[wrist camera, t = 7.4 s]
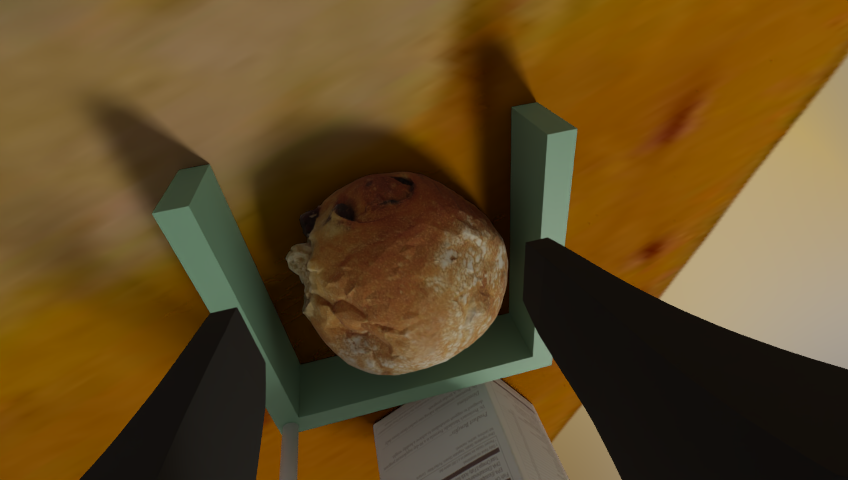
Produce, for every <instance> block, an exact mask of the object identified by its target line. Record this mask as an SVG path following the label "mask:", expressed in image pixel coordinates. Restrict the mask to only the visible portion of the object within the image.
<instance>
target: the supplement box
mask: <svg viewBox="0 0 848 480" xmlns="http://www.w3.org/2000/svg"><path fill="white" fill-rule="evenodd" d="M373 430H374V437H375V445H376V452H377V459H378V466H379V474H380V480H569V478H568V476H567V474H566V472H565V470H564V468H563V466H562V464H561V462H560V460H559V458H558V456H557V454H556V452H555V450H554V448H553V446H552V444H551V442H550V440H549V438H548V436H547V433H546V431H545V429H544V427H543V425H542V423H541V421H540V419H539V417H538V415H537V412H536V410H535V408H534V406H533V405H532V404H531V403H530V402H529V401H527V400H526V399H525V398H524V397H522V396H521V395H520V394H519V393H517V392H516V391H515V390H514V389H512V388H511V387H510V386H508V385H507V384H506V383H505V382H503V381H502V380H501V379H497V380H493V381H489V382H485V383H482V384H478V385H474V386H470V387H467V388H463V389H459V390H455V391H452V392H448V393H444V394H440V395H436V396H433V397H429V398H425V399H421V400H418V401H414V402H410V403H406V404H404V405H403V406H401V407H400V408H398V409H397V410H395V411H394V412H392V413H391V414H389V415H388V416H386V417H385V418H383V419H382V420H380V421H378V422H377V423H375V424H374V425H373Z"/></svg>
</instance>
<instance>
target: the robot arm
mask: <svg viewBox="0 0 848 480" xmlns="http://www.w3.org/2000/svg"><path fill="white" fill-rule="evenodd" d="M523 302H524V304H525V307H526V309H527V311H528V313H529V316H530V318H531V320H532V322H533V324H534V326H535V328H536V330H537V332H538V334H539V336H540V338H541V339H542V341H543V342H544V344H545V346H546V347H547V349H548V350H549V352H550V354H551V355H552V357H553V358H554V360H555V362H556V363H557V365H558V366H559V368H560V369H561V371H562V373H563V374H564V376H565V377H566V379H567V380H568V382H569V384H570V385H571V387H572V388H573V390H574V391H575V393H576V395H577V396H578V398H579V399H580V401H581V403H582V404H583V406H584V407H585V409H586V411H587V412H588V414H589V416H590V418H591V419H592V421H593V423H594V425H595V426H596V429H597V431H598V432H599V434H600V436H601V438H602V440H603V442H604V444H605V446H606V448H607V450H608V452H609V454H610V456H611V458H612V460H613V462H614V464H615V466H616V468H617V470H618V472H619V475H620V476H621V479H622V480H848V369H845V368H841V367H838V366H834V365H831V364H828V363H824V362H821V361H817V360H814V359H811V358H808V357H805V356H802V355H799V354H795V353H792V352H789V351H786V350H783V349H780V348H777V347H774V346H772V345H769V344H766V343H763V342H760V341H758V340H755V339H752V338H749V337H746V336H744V335H741V334H738V333H736V332H733V331H730V330H728V329H725V328H723V327H720V326H718V325H715V324H713V323H710V322H708V321H706V320H704V319H701V318H699V317H697V316H694V315H692V314H690V313H687V312H684V311H683V310H681V309H678V308H676V307H674V306H672V305H670V304H667V303H666V302H664V301H661V300H660V299H658V298H656V297H654V296H652V295H650V294H648V293H646V292H644V291H642V290H640V289H638V288H636V287H634V286H632V285H630V284H628V283H627V282H625V281H623V280H621V279H619V278H618V277H616V276H614V275H612V274H610V273H609V272H607V271H605V270H603V269H602V268H600V267H598V266H596V265H595V264H593V263H591V262H590V261H588V260H586V259H585V258H583V257H581V256H580V255H578V254H576V253H574V252H573V251H571V250H569V249H568V248H566V247H564V246H563V245H561V244H559V243H557V242H556V241H554V240H552V239H550V238H548V237H547V238H543V239H538V240H534V241H529V242H526V244H525V264H524V283H523ZM265 405H266V362H265V360H264V358H263V356H262V354H261V352H260V350H259V348H258V347H257V345H256V343H255V341H254V339H253V337H252V335H251V333H250V331H249V329H248V327H247V325H246V323H245V321H244V319H243V317H242V315H241V313H240V312H239V310H238V308H237V307H235V308H231V309H226V310H222V311H217V312H213V313H210V314H209V316H208V317H207V318H206V320H205V321H204V322H203V324H202V325H201V327H200V328H199V329H198V331H197V332H196V334H195V335H194V336H193V338H192V339H191V341H190V342H189V343H188V345H187V346H186V348H185V349H184V350H183V352H182V353H181V355H180V356H179V357H178V359H177V360H176V362H175V363H174V364H173V366H172V367H171V368H170V370H169V371H168V372H167V374H166V375H165V377H164V378H163V379H162V381H161V382H160V383H159V385H158V386H157V387H156V389H155V390H154V391H153V393H152V394H151V395H150V396H149V398H148V399H147V400H146V401H145V403H144V404H143V405H142V406H141V408H140V409H139V410H138V411H137V413H136V414H135V415H134V416H133V418H132V419H131V420H130V421H129V423H128V424H127V425H126V426H125V428H124V429H123V430H122V431H121V433H120V434H119V435H118V436H117V438H116V439H115V440H114V441H113V442H112V444H111V445H110V446H109V447H108V448H107V449H106V451H105V452H104V453H103V454H102V455H101V456H100V457H99V459H98V460H97V461H96V462H95V463H94V464H93V465H92V466H91V468H90V469H89V470H88V471H87V472H86V473H85V474H84V475H83V476H82V477H81V478H80V480H256V474H257V467H258V459H259V452H260V445H261V437H262V429H263V421H264V413H265Z"/></svg>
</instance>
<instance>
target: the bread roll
mask: <svg viewBox="0 0 848 480" xmlns="http://www.w3.org/2000/svg"><path fill="white" fill-rule="evenodd" d="M299 220H300V223H301V226H302V228H303V233H304V235H305V236H306V237H307V243H302V244H296V245H294V246H292V247H291V251H289V252H288V254H287V256H286V260H287V263H288V267H289V269H290V270H292V271H293V272H294V273H295V274H297V275H299V277H300V280H301V282H302V284H304V285H305V289H304V292H305V294H304V305H303V308H302V312H303V314H305V315H306V317H307V318H308V319H309V320H310V322H311V323H312V325H313V326H314V328H315V330H316V331H317V333H318V334H319V336H320V337H321V338H322V340H323V341H324V342H325V343H326V344H327V345H328V346H329V347H330V348H331V350H332V351H333V352H334V353H336V354H337V355H338V356H339V357H340V358H341V359H343V360H344V361H345V362H346V363H347V364H349V365H351V366H353V367H355V368H357V369H360V370H362V371H365V372H368V373H371V374H376V375H400V374H406V373H409V372H415V371H418V370H422V369H426V368H429V367H431V366H434V365H437V364H440V363H443V362H446V361H447V360H449V359H450V358H452V357H454V356H455V355H457V354H458V353H460V352H461V351H462V350H464V349H465V348H468V347H469V346H470V345H471V344H473V343H474V342H475V341H476V340H477V339H478V338H479V337H481V336H482V335H483V334H484V333H485V331H486V330H487V329H488V328H489V326H490V325H491V324H492V323H493V322H494V320H495V318H496V317H497V315H498V312H499V310H500V307H501V304H502V301H503V297H504V294H505V290H506V286H507V273H508V258H507V253H506V247H505V244H504V241H503V238H502V237H501V235H500V234H499V233H498V232H497V231H496V229H495V227H494V226H493V225H492V223H491V221H490V220H489V218H488V217H487V216H486V215H485V214H484V213H483V212H481V211H480V210H479V209H478V208H477V207H476V206H475V205H474V204H472V203H470V202H468V201H467V200H465V199H464V198H463V197H462V196H461V195H458V194H457V193H456V192H455V191H453V190H451V189H449V188H448V187H446V186H444V185H443V184H441V183H440V182H437V181H435V180H432V179H431V178H429V177H427V176H425V175H423V174H415V173H412V172H392V173H382V174H373V175H367V176H364V177H361V178H359V179H356V180H355V181H353V182H351V183H349V184H347V185H346V186H344V187H343V188H341V189H338V190H336V191H335V192H334V193H333V194H332V195H330V196H329V197H328V198H327V199H326V200H325V201H324V202H323V203H322V204H321V206H319V205H318V207H317V208H316V209H314V210H311V211H308V212H306V213H304V214H302V215H300V219H299Z"/></svg>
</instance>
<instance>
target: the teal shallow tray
mask: <svg viewBox="0 0 848 480" xmlns="http://www.w3.org/2000/svg"><path fill="white" fill-rule="evenodd" d="M576 137H577V128H575V127H574V126H572V125H571V124H569V123H568V122H566V121H565V120H563V119H562V118H560V117H559V116H557V115H556V114H554V113H553V112H551V111H550V110H548V109H547V108H545V107H544V106H542V105H541V104H539V103H538V102H536V103H530V104H525V105H520V106H514V107H512V114H511V193H510V273H509V313H507V314H503V315H499V316H497V317H496V318H495V320H494V322H493V323H492V324H491V325H490V326H489V328H488V329H487V330H486V331H485V333H484V334H483V335H482V336H481V337H479V338H478V339H477V340H476V341H475V342H474V343H473V344H471V345H470V346H469V347H468V348H465V349H464V350H462V351H461V352H460V353H458V354H457V355H455V356H454V357H452V358H450V359H449V360H447V361H446V362H443V363H440V364H437V365H434V366H431V367H429V368H426V369H422V370H418V371H415V372H409V373H406V374H400V375H376V374H371V373H368V372H365V371H362V370H360V369H357V368H355V367H353V366H351V365H349V364H347V363H346V362H345V361H344V360H343V359H341V358H340V357H339V356H334V357H330V358H326V359H322V360H318V361H314V362H310V363H306V364H302V365H300V363H299V360H298V358H297V356H296V354H295V352H294V349H293V347H292V345H291V343H290V341H289V338H288V336H287V334H286V332H285V330H284V327H283V325H282V323H281V321H280V319H279V316H278V314H277V312H276V310H275V307H274V305H273V303H272V301H271V299H270V296H269V294H268V292H267V290H266V288H265V285H264V283H263V281H262V279H261V277H260V274H259V272H258V270H257V268H256V266H255V263H254V261H253V259H252V257H251V255H250V252H249V250H248V248H247V246H246V244H245V241H244V239H243V237H242V235H241V233H240V230H239V228H238V226H237V224H236V221H235V219H234V217H233V215H232V213H231V210H230V208H229V206H228V204H227V202H226V199H225V197H224V195H223V193H222V191H221V188H220V186H219V184H218V182H217V180H216V177H215V175H214V173H213V171H212V169H211V166H210V164H208V165H203V166H197V167H192V168H187V169H181V170H179V171H178V172H177V174H176V176H175V177H174V179H173V180H172V182H171V184H170V185H169V187H168V188H167V190H166V192H165V193H164V195H163V196H162V198H161V200H160V201H159V203H158V204H157V206H156V208H155V209H154V211H153V212H152V215H153V216H154V218H155V220H156V221H157V223H158V225H159V226H160V228H161V230H162V232H163V233H164V235H165V237H166V238H167V240H168V242H169V243H170V245H171V247H172V249H173V250H174V252H175V254H176V255H177V257H178V259H179V260H180V262H181V264H182V266H183V267H184V269H185V271H186V272H187V274H188V276H189V278H190V279H191V281H192V283H193V284H194V286H195V288H196V289H197V291H198V293H199V295H200V296H201V298H202V300H203V301H204V303H205V305H206V306H207V308H208V310H209V312H210V313H213V312H217V311H222V310H226V309H231V308H235V307H237V308H238V310H239V312H240V313H241V315H242V317H243V319H244V321H245V323H246V325H247V327H248V329H249V331H250V333H251V335H252V337H253V339H254V341H255V343H256V345H257V347H258V348H259V350H260V352H261V354H262V356H263V358H264V360H265V362H266V405H265V407H266V409H267V410H268V412H269V414H270V415H271V417H272V419H273V421H274V422H275V424H276V426H277V427H278V429H279V431H280V432H281V434H282V448H281V463H280V479H279V480H297V463H298V432H301V431H305V430H309V429H312V428H316V427H320V426H324V425H327V424H331V423H335V422H339V421H342V420H346V419H350V418H354V417H357V416H361V415H365V414H369V413H373V412H376V411H380V410H384V409H388V408H391V407H395V406H399V405H403V404H406V403H410V402H414V401H418V400H421V399H425V398H429V397H433V396H436V395H440V394H444V393H448V392H452V391H455V390H459V389H463V388H467V387H470V386H474V385H478V384H482V383H485V382H489V381H493V380H497V379H500V378H504V377H508V376H512V375H516V374H519V373H523V372H527V371H531V370H534V369H538V368H542V367H546V366H549V365H552V355H551V354H550V352H549V350H548V349H547V347H546V346H545V344H544V342H543V341H542V339H541V338H540V336H539V334H538V332H537V330H536V328H535V326H534V324H533V322H532V320H531V318H530V316H529V313H528V311H527V309H526V307H525V304H524V302H523V283H524V264H525V244H526V242H529V241H534V240H538V239H543V238H547V237H548V238H550V239H552V240H554V241H556V242H557V243H559V244H561V245H563V246H565V237H566V228H567V219H568V210H569V201H570V191H571V182H572V173H573V164H574V155H575V146H576Z"/></svg>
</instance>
